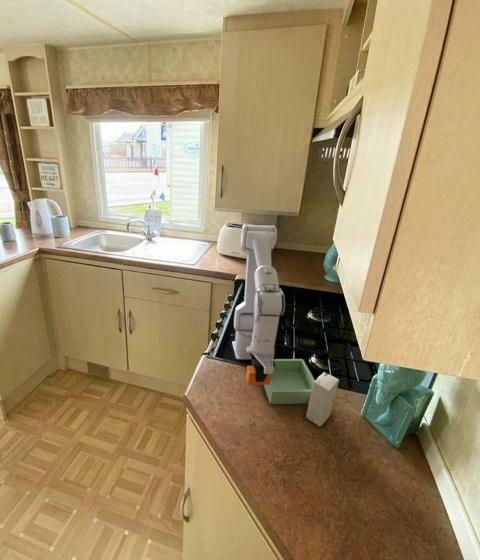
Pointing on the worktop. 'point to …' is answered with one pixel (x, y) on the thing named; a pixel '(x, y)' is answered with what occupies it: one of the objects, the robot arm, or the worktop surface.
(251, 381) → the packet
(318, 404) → the cosmetic box
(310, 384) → the tray
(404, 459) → the worktop surface
